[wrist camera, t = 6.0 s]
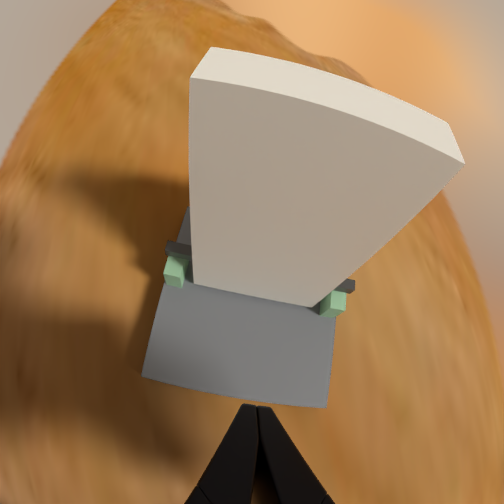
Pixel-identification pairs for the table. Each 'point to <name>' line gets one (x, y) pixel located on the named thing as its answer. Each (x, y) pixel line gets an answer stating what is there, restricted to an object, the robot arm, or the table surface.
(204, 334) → the gauge base
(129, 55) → the table surface
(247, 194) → the cream block
